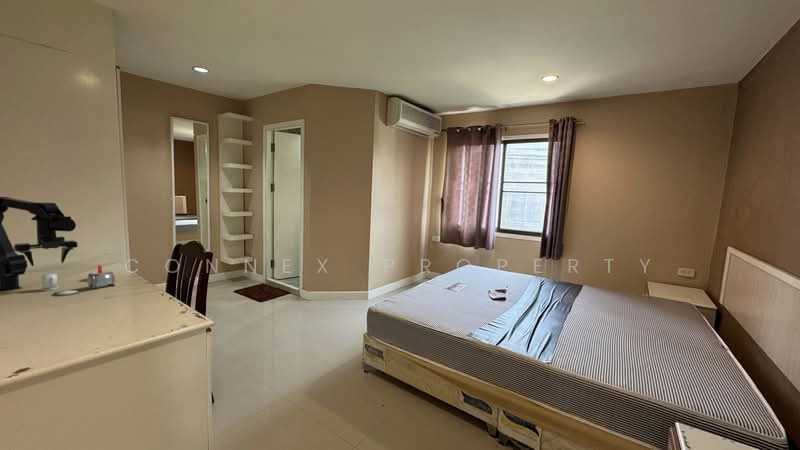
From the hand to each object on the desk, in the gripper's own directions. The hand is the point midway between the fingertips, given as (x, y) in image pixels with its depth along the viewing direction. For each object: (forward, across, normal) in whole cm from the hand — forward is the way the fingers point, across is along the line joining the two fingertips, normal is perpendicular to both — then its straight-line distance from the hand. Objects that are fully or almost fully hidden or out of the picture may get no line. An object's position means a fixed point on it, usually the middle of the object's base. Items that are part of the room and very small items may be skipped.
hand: (47, 264), depth 145 cm
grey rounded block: (+12, +16, -11) cm, 23 cm away
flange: (+12, +4, -12) cm, 17 cm away
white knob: (+12, 0, 0) cm, 12 cm away
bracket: (+12, +17, +3) cm, 21 cm away
